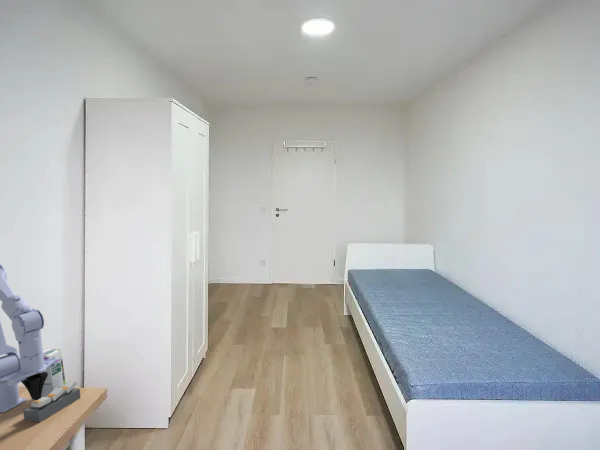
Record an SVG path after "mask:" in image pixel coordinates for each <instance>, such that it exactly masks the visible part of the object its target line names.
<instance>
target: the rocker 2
mask: <svg viewBox="0 0 600 450" xmlns="http://www.w3.org/2000/svg"><path fill="white" fill-rule="evenodd" d="M63 393H64V389H63V388H55V389H54V390H53V391H52V392H51V393H50V394H48V395H47V396H46V397H48V398H51V400H52V401H55V400H56V399H57V398H58V397H59V396H60V395H61V394H63Z"/></svg>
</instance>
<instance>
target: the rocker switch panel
mask: <svg viewBox="0 0 600 450" xmlns="http://www.w3.org/2000/svg"><path fill="white" fill-rule="evenodd" d="M80 399H81V390H80V388H75V387H74V388H73V389H72V390H71V391H70V392H69V393H63V394H61V395H60V396H59V397H58V398H57V399H56V400H55V401H52V400H51V402H49V403H47V404H45V405H43V406H41V407H32V405H30V406H28V407H26V408H25V409H23V410H22V412H23V421H29V422H33V423H34V422H35V423H42V422H43V421H45V420H47V419H48V418H50V417H52V416H53V415H55V414H56V413H58V412H60V411H61V410H63V409H65V408H66V407H68V406H69V405H71V404H73V403H75V402H76V401H78V400H80Z"/></svg>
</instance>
